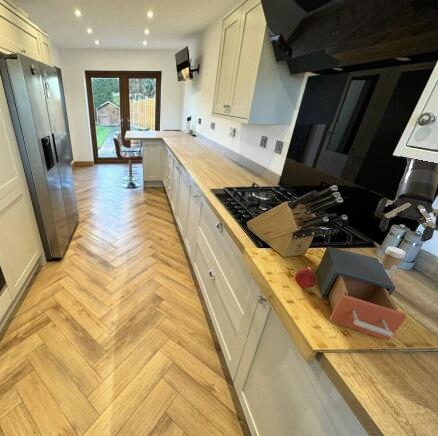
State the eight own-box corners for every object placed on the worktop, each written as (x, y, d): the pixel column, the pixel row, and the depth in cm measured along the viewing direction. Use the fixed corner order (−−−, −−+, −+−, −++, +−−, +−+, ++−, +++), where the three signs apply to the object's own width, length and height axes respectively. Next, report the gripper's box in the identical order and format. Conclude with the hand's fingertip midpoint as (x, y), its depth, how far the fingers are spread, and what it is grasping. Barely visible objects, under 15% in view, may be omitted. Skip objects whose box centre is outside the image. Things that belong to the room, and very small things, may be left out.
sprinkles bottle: (365, 277, 85) (384, 246, 79) (376, 276, 86) (395, 245, 80) (379, 286, 81) (399, 254, 75) (389, 285, 81) (410, 253, 76)
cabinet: (377, 315, 69) (395, 287, 64) (321, 298, 75) (335, 271, 70) (362, 283, 82) (377, 258, 77) (316, 270, 87) (327, 246, 82)
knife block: (301, 273, 85) (334, 193, 72) (244, 227, 116) (260, 165, 102) (326, 270, 88) (363, 192, 74) (264, 226, 118) (282, 165, 105)
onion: (316, 291, 77) (325, 272, 74) (302, 294, 76) (311, 275, 72) (301, 279, 82) (309, 261, 79) (288, 282, 81) (295, 263, 77)
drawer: (396, 357, 56) (416, 332, 53) (333, 334, 62) (347, 309, 58) (371, 303, 72) (386, 281, 68) (323, 288, 77) (333, 266, 73)
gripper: (443, 200, 70) (430, 248, 67) (380, 188, 77) (366, 231, 74) (460, 187, 64) (448, 239, 60) (390, 176, 71) (376, 222, 68)
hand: (403, 235), depth 67 cm, fingers open, 8 cm apart
